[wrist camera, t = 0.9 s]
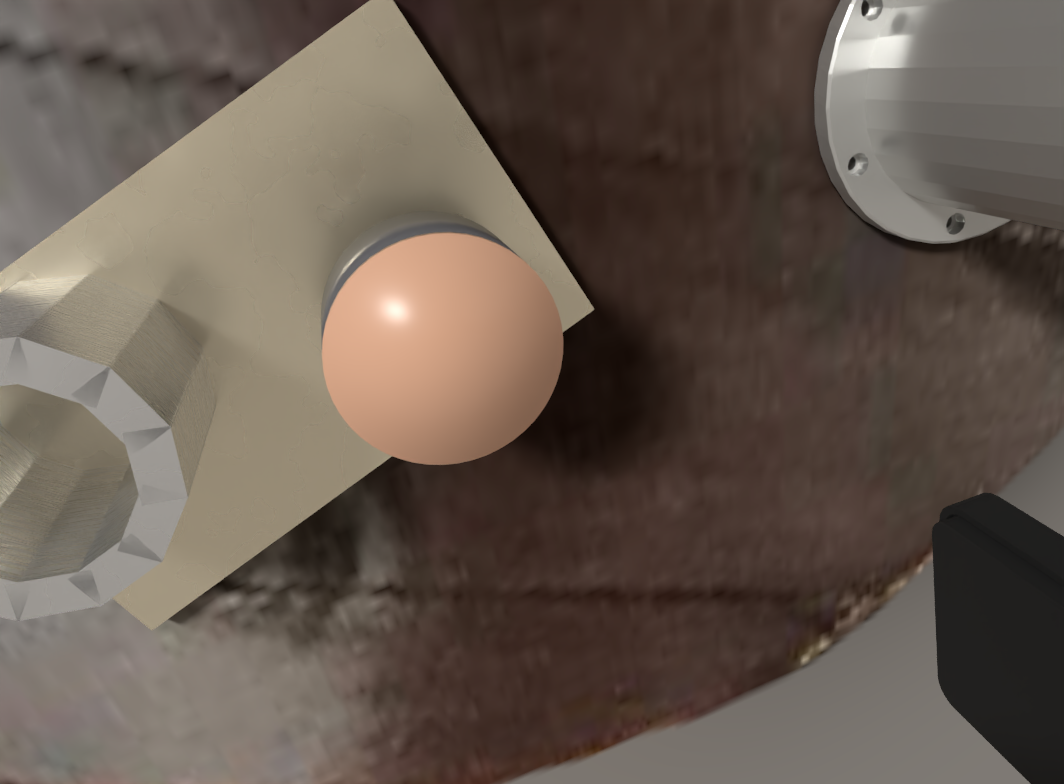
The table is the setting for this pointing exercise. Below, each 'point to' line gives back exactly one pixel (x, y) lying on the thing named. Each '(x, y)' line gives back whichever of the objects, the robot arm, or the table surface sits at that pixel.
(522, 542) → the table surface
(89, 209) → the cylinder on base plate
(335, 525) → the table surface
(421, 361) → the peach ball on collar
